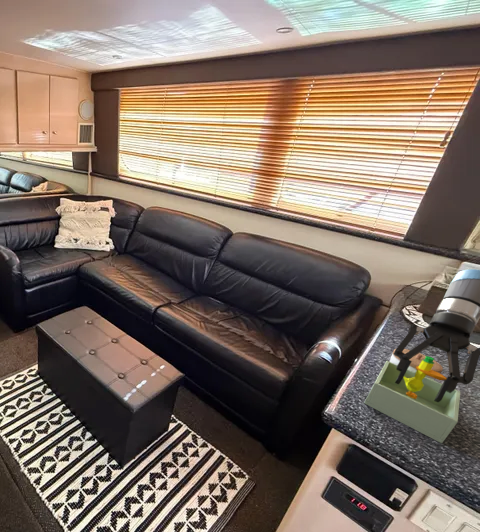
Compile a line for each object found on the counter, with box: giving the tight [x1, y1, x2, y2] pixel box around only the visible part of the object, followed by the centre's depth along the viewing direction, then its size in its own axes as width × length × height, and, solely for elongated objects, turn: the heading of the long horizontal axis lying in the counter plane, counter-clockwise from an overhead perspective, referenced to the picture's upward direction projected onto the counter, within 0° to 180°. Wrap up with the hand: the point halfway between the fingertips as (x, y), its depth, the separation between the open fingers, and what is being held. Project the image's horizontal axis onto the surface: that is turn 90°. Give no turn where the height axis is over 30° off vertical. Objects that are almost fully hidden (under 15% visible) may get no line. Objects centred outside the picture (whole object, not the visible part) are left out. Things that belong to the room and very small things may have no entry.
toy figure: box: [403, 355, 447, 399], centre depth 82 cm, size 7×4×12 cm, turn 39°
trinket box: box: [388, 348, 444, 381], centre depth 96 cm, size 11×11×9 cm
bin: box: [363, 360, 461, 444], centre depth 85 cm, size 15×17×7 cm
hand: (417, 390), depth 81 cm, fingers closed on toy figure, 7 cm apart
